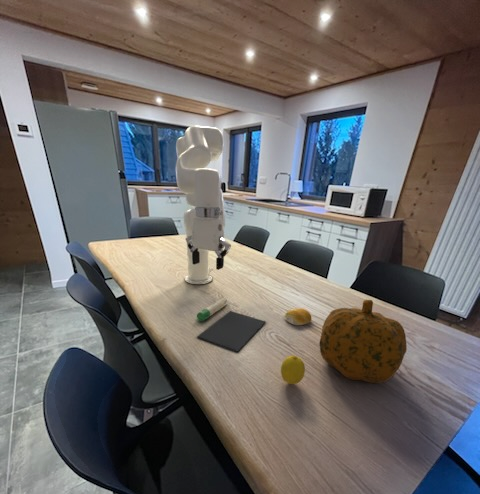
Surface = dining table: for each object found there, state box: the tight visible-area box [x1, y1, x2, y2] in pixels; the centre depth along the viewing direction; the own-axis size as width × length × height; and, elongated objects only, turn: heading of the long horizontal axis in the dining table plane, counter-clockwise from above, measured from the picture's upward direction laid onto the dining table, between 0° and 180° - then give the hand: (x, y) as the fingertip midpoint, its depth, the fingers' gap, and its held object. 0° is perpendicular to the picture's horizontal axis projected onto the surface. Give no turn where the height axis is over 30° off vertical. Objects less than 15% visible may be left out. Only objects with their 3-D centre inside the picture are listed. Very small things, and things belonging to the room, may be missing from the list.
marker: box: [196, 297, 229, 322], centre depth 95 cm, size 15×3×3 cm, turn 152°
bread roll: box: [284, 308, 312, 326], centre depth 93 cm, size 8×9×4 cm
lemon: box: [280, 355, 306, 385], centre depth 63 cm, size 6×6×8 cm
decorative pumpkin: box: [318, 299, 408, 384], centre depth 67 cm, size 20×21×20 cm
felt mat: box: [197, 310, 266, 353], centre depth 85 cm, size 20×14×1 cm
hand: (207, 266), depth 89 cm, fingers open, 9 cm apart
